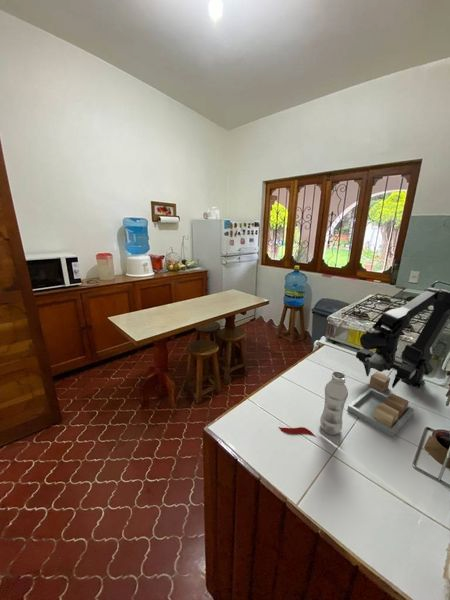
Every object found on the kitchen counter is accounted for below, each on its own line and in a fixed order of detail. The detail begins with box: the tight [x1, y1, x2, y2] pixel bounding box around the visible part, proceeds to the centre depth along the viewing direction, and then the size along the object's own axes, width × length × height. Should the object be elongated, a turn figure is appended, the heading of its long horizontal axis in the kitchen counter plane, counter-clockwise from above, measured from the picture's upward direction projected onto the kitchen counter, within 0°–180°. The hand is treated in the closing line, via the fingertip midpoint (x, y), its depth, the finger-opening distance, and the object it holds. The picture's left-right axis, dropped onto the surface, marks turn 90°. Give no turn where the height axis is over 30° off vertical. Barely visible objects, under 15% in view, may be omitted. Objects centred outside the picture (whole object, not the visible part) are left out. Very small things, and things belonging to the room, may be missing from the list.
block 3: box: [385, 392, 410, 420], centre depth 83 cm, size 5×5×5 cm
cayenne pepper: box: [278, 426, 317, 438], centre depth 77 cm, size 12×5×2 cm, turn 63°
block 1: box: [368, 371, 391, 393], centre depth 97 cm, size 5×5×5 cm
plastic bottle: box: [319, 371, 349, 436], centre depth 75 cm, size 6×7×20 cm
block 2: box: [373, 403, 399, 428], centre depth 79 cm, size 5×5×5 cm
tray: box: [347, 387, 415, 438], centre depth 84 cm, size 16×14×2 cm
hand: (379, 381), depth 97 cm, fingers open, 9 cm apart
